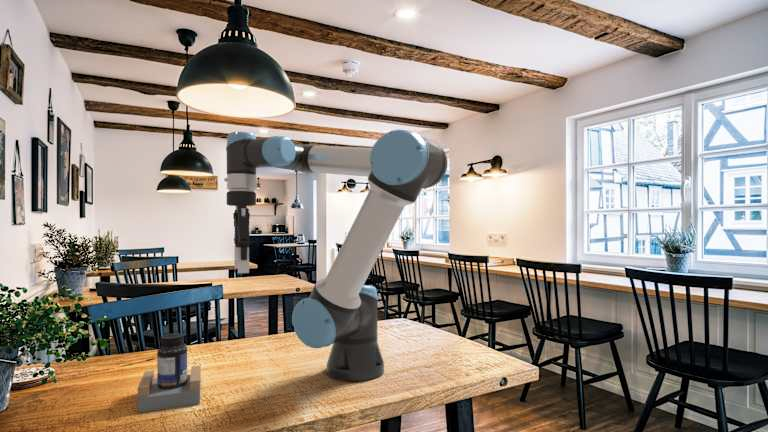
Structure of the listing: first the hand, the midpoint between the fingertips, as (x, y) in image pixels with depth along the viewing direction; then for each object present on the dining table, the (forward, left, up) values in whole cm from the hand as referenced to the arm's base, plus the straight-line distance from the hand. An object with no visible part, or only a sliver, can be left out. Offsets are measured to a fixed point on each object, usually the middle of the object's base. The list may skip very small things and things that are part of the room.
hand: (241, 270), depth 121 cm
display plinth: (+16, +14, -27) cm, 34 cm away
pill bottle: (+16, +14, -24) cm, 32 cm away
